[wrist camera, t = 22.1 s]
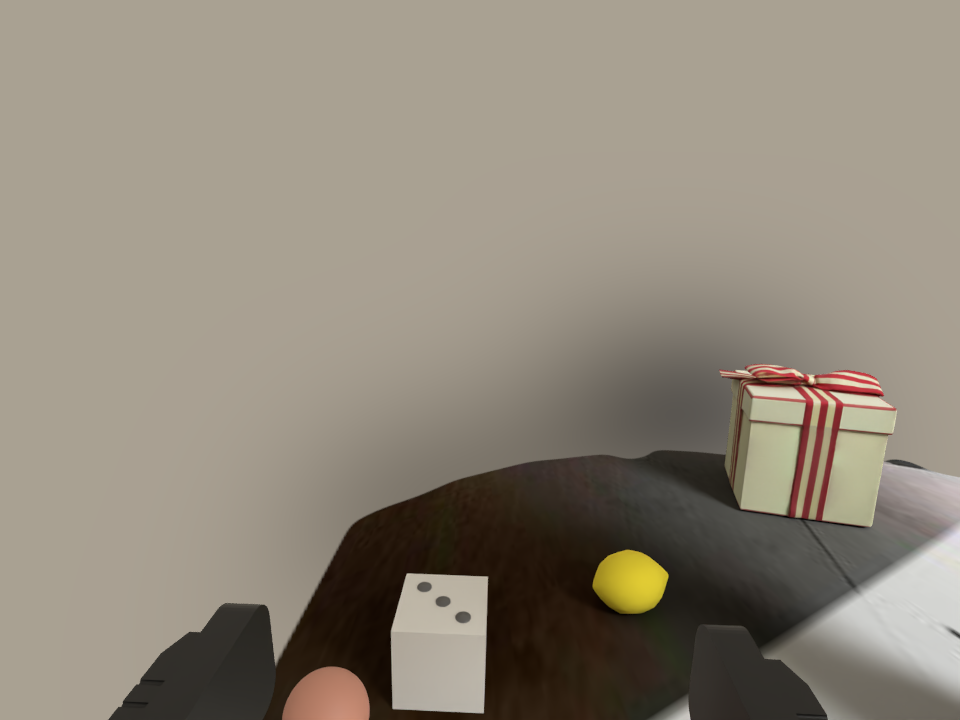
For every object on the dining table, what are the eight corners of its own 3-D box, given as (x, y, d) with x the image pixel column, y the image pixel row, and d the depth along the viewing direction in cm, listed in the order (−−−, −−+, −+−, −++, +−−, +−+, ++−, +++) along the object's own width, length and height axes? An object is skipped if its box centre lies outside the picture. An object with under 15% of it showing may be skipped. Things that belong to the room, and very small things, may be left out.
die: (407, 642, 45) (406, 572, 44) (486, 646, 45) (487, 575, 43) (392, 709, 39) (390, 630, 37) (483, 714, 39) (485, 634, 37)
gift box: (821, 467, 81) (841, 354, 77) (885, 533, 63) (915, 390, 59) (700, 456, 84) (714, 347, 80) (729, 515, 66) (747, 379, 62)
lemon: (603, 633, 47) (599, 579, 46) (586, 593, 52) (582, 544, 51) (681, 621, 47) (680, 567, 46) (657, 582, 53) (655, 533, 51)
